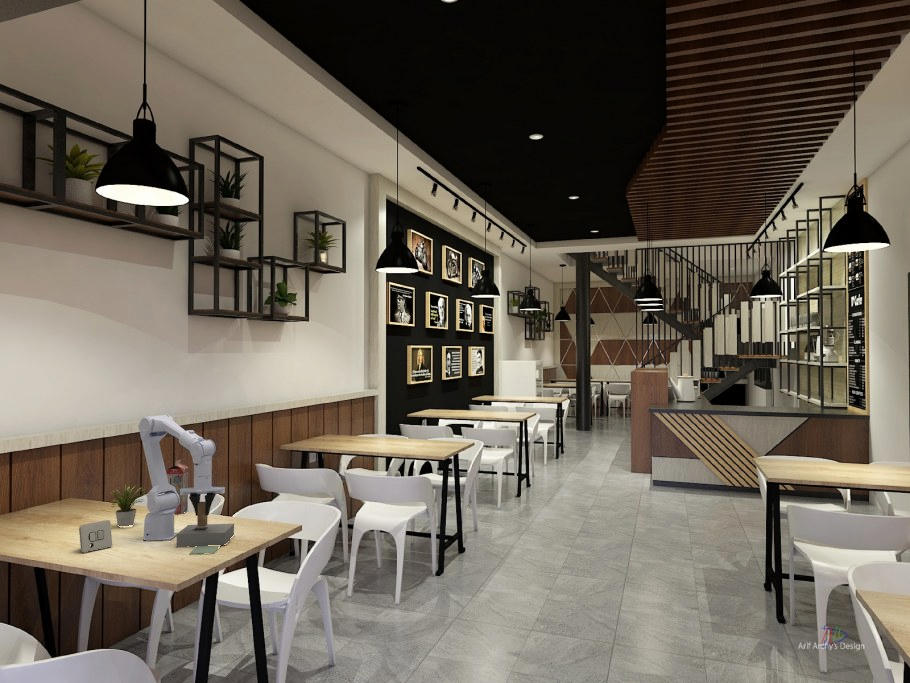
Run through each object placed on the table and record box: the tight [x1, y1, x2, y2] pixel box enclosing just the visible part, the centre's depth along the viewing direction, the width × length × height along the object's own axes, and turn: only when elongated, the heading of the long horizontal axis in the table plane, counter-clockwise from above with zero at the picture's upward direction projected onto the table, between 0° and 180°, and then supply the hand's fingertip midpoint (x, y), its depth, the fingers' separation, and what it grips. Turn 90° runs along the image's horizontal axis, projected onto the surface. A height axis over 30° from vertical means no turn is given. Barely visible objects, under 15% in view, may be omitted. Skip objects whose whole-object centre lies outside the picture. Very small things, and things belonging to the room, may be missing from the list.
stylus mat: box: [188, 546, 219, 555], centre depth 202 cm, size 8×8×1 cm
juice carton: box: [166, 459, 189, 515], centre depth 255 cm, size 7×7×22 cm
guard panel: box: [175, 523, 235, 548], centre depth 212 cm, size 16×12×4 cm
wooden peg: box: [196, 501, 208, 527], centre depth 210 cm, size 3×3×8 cm
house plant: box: [109, 484, 148, 526], centre depth 231 cm, size 14×14×16 cm
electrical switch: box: [78, 519, 113, 553], centre depth 204 cm, size 9×5×9 cm, turn 141°
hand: (202, 515), depth 209 cm, fingers closed on wooden peg, 3 cm apart
